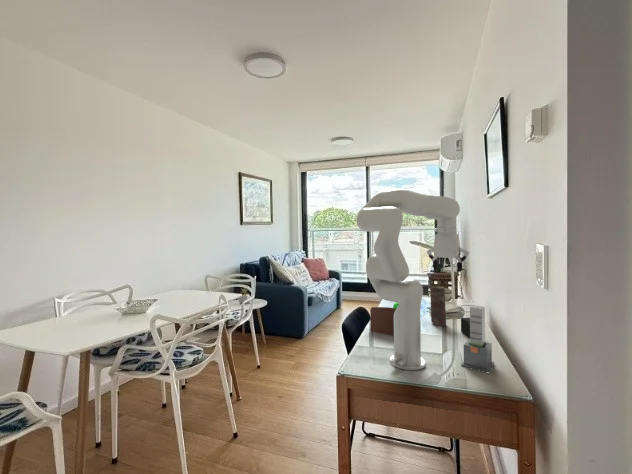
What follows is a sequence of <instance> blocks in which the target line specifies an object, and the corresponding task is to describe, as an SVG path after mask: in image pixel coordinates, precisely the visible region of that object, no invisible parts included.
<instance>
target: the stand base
mask: <svg viewBox="0 0 632 474" xmlns="http://www.w3.org/2000/svg"><path fill="white" fill-rule="evenodd" d="M492 344H493V343H492V342H487V341H486V344H485V345H484V346H483V348H482V347H478V346H473V345H470V338H468V339H467V341H466V342H465V343H464V344H463V361H462V363H461V365H460V366H461V367H462V368H463V367H464V368H467V369H470V368H472V369H471V370H474V369H476V370H475V371H477V370H480V371H479V372H481V371H484V372H483V373H485V372H489V371H490V370H492V369H493V368H494V366H495V361H493V358H492V356H493V355H492V354H493V353H492V350H493V349H492ZM492 367H493V368H492ZM491 368H492V369H491ZM490 372H491V371H490ZM490 372H489V373H490Z"/></svg>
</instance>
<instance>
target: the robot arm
mask: <svg viewBox="0 0 632 474" xmlns="http://www.w3.org/2000/svg"><path fill="white" fill-rule="evenodd" d="M460 211H461V207H460V205H459V202H458V201H457V200H455V199H454V198H452V197H447V196H443V195H432V194H423V193H419V192H415V191H412V190H409V189H406V188H393V189H386V190H381V191H379V192H377V193H376V194H375V195H374V196H372V197H371V198H370V200H368V201H367V203H365V205H364V206H362V207H361V209H360V210H359V211H358V213H357V215H356V216H357V217H356V225H357V227H358V228H359V229H360V230H361V231H363V232H368V233H371V232H373V233H375V232H378V234H377V238H376V239H375V242H374V246H373V251H374V254H373V255H370V256H369V257H368V258H367V260H366V262H365V273H366V276H367V278H368V280H369V281H370V283H371V285H372V288H373V289H374V290H375V292H376V294H377V295H378V297H379V298H380V299H381V300H385V301H388V302H392V303H393V302H394V303H396V302H397V303H399V306H398V307H397V309H396V310H395V312H394V336H393V354H392V355H391V356H390V358H389V364H390V365H391V366H393V367H395V368H397V369H400V370H405V371H418V370H421V369H424V368H425V367H426V360H425V359H424V358H423V357H422V346H421V345H422V344H421V343H422V342H421V341H422V339H421V338H422V337H421V336H422V335H421V334H422V333H421V331H422V330H421V309H422V300H423V295H424V288H423V285H422V283H421V282H420V281H419V280H417V279H414V278H412V277H409V275H410V268H409V265H408V263H407V261H406V258H405V255H404V253H403V252H402V250H401V247H400V245H399V237H400V233H401V229H402V225H403V223H404V222H403V221H404V219H403V218H404V217H403V214H406V215H411V216H414V217H415V216H416V217H425V218H426V219H427V220H436V221H437V227H436V228H434V229H433V232H436V234H435V235H434V242H433V247H432V248H430V249H428V250H427V251H426V254H427V255H428V257H429V259H431V261H432V268H433V271H438V270H439V261H438V259H439V258H443V259H445V258H447V259H448V258H449V259H454V258H455V259H456V260H457V263H456V268H457V269H456V272H457V273H460V272H462V271H463V262H464V261H465V260H467V258H468V256H469V255H470V252H469V251H468V250H466V249H464V248H462V247H461V244H460V243H461V241H460V237H459V233H457V217H458V216H459V214H460ZM462 253H463V255H462V256H461V254H462Z"/></svg>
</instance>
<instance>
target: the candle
mask: <svg viewBox="0 0 632 474" xmlns="http://www.w3.org/2000/svg"><path fill="white" fill-rule="evenodd" d="M429 289H430V291H429V292H430V321H431V323H433V325H437V326H439V327H443V326H445V325H447V313H446V309H447V308H446V291H445V290H446V288H445V287H444V286H430V287H429Z"/></svg>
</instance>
